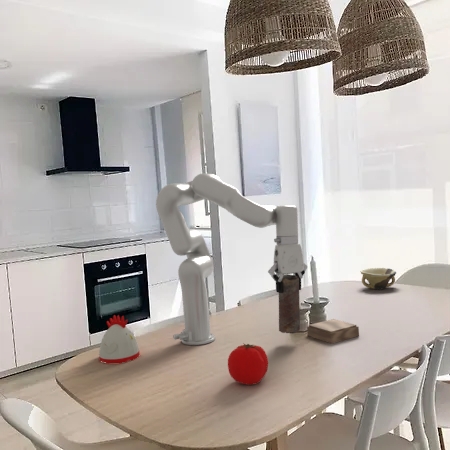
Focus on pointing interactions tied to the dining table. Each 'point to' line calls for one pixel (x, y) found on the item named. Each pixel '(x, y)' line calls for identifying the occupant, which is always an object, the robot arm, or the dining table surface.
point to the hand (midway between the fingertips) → (288, 290)
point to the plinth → (332, 330)
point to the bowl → (378, 277)
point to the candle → (289, 305)
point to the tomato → (248, 364)
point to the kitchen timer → (118, 343)
